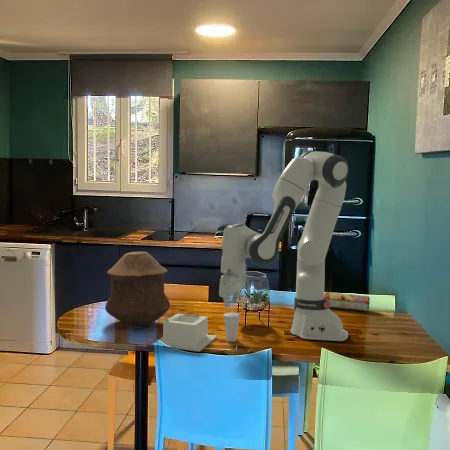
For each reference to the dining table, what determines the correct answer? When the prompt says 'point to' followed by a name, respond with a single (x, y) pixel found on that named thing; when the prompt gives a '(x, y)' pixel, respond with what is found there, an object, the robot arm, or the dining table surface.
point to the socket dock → (187, 332)
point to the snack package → (347, 301)
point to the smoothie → (231, 325)
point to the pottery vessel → (137, 290)
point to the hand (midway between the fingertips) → (230, 304)
